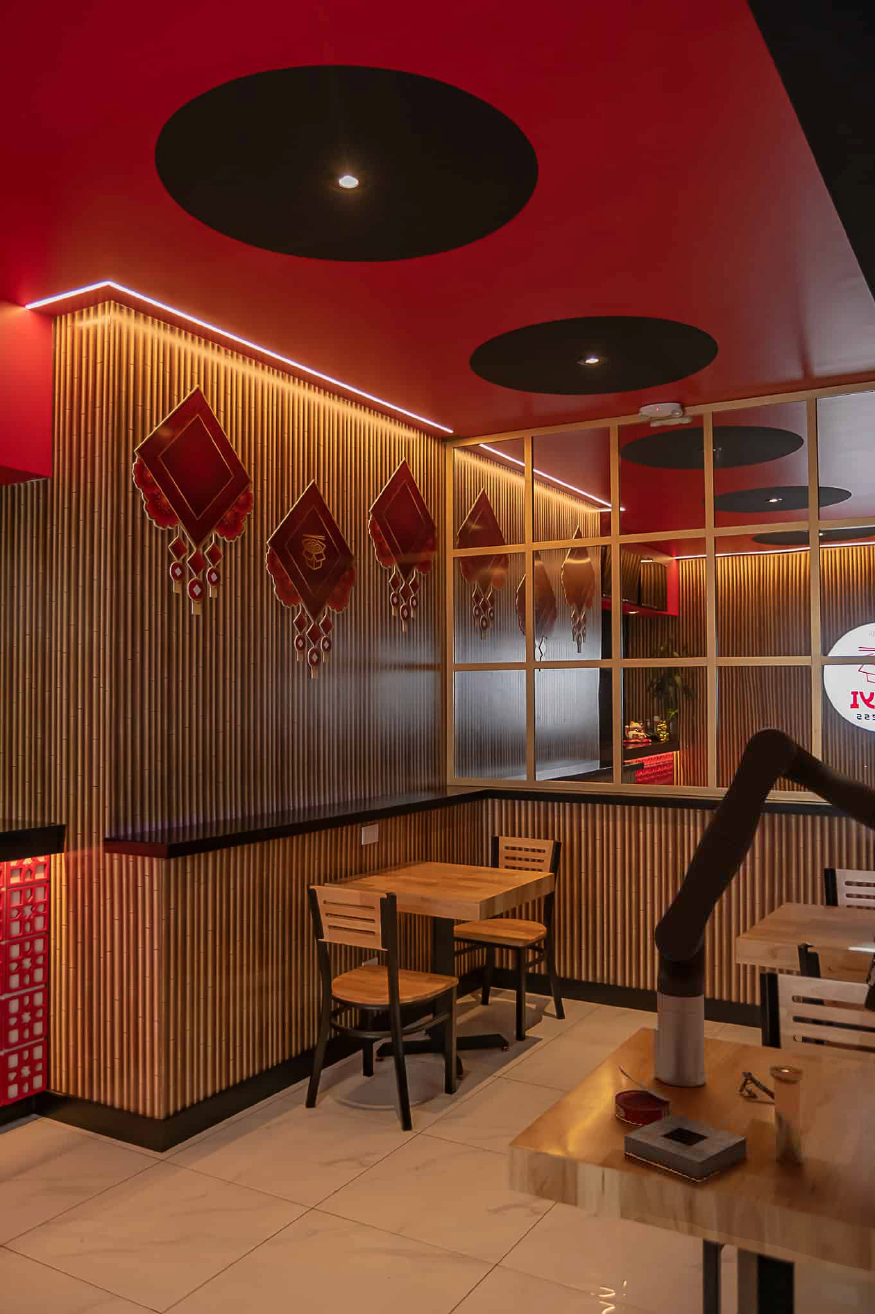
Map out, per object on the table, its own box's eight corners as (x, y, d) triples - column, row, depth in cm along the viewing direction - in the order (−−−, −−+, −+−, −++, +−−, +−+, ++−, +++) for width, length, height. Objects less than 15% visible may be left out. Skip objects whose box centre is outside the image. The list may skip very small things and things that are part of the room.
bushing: (766, 1158, 156) (764, 1069, 157) (781, 1150, 159) (779, 1063, 161) (796, 1168, 152) (793, 1077, 154) (810, 1159, 156) (808, 1070, 157)
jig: (624, 1154, 157) (624, 1135, 157) (672, 1132, 166) (672, 1114, 167) (699, 1182, 147) (699, 1162, 147) (746, 1157, 156) (745, 1138, 157)
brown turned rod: (737, 1086, 187) (746, 1067, 186) (774, 1113, 182) (783, 1093, 181) (733, 1089, 186) (742, 1069, 185) (770, 1116, 181) (779, 1096, 180)
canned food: (623, 1133, 178) (624, 1076, 183) (677, 1137, 174) (676, 1078, 179) (604, 1121, 170) (606, 1062, 175) (660, 1125, 165) (660, 1064, 171)
